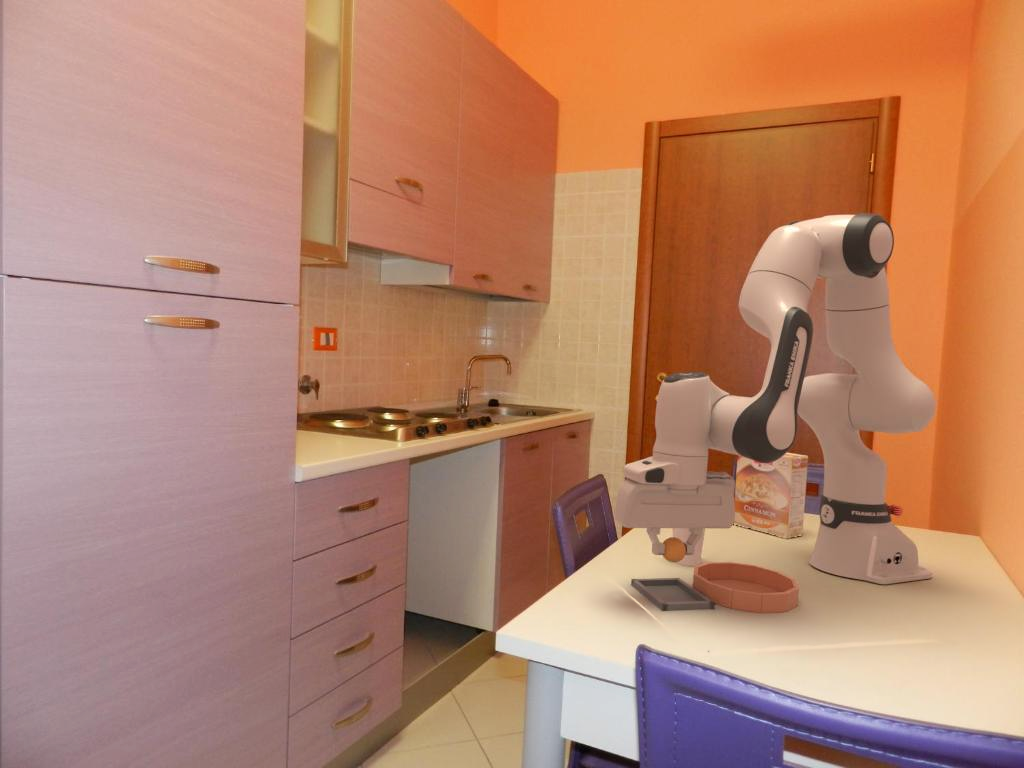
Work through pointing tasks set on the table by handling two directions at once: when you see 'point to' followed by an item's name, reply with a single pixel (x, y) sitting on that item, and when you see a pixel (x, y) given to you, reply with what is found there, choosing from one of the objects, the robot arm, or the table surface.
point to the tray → (672, 594)
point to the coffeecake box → (771, 494)
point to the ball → (674, 549)
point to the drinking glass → (696, 558)
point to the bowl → (746, 587)
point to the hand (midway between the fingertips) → (672, 554)
